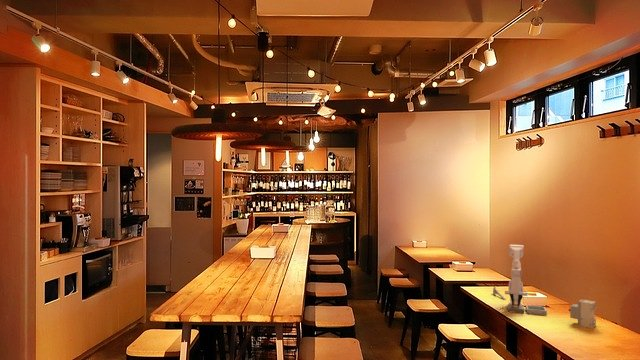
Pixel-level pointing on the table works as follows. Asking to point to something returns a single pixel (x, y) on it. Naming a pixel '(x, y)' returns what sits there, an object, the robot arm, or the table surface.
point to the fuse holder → (514, 309)
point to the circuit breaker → (584, 313)
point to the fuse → (515, 302)
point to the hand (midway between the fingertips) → (515, 305)
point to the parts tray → (536, 310)
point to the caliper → (497, 293)
